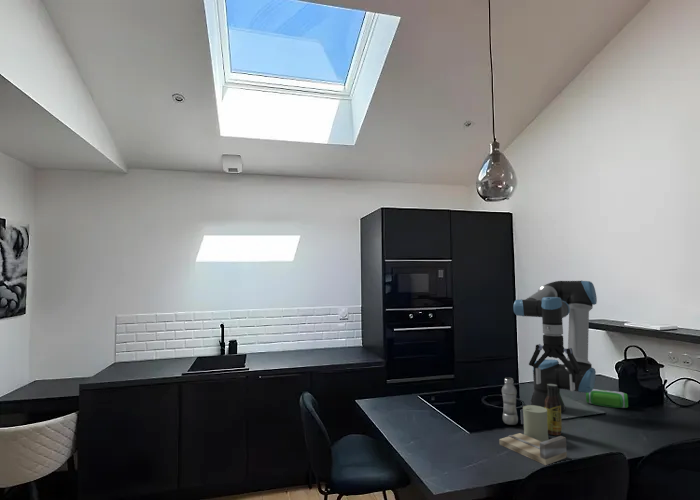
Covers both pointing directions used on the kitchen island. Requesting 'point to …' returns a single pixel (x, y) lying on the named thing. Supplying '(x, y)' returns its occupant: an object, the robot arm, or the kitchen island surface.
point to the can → (535, 422)
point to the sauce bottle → (553, 410)
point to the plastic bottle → (509, 402)
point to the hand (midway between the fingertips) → (555, 387)
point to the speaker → (607, 398)
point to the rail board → (537, 447)
